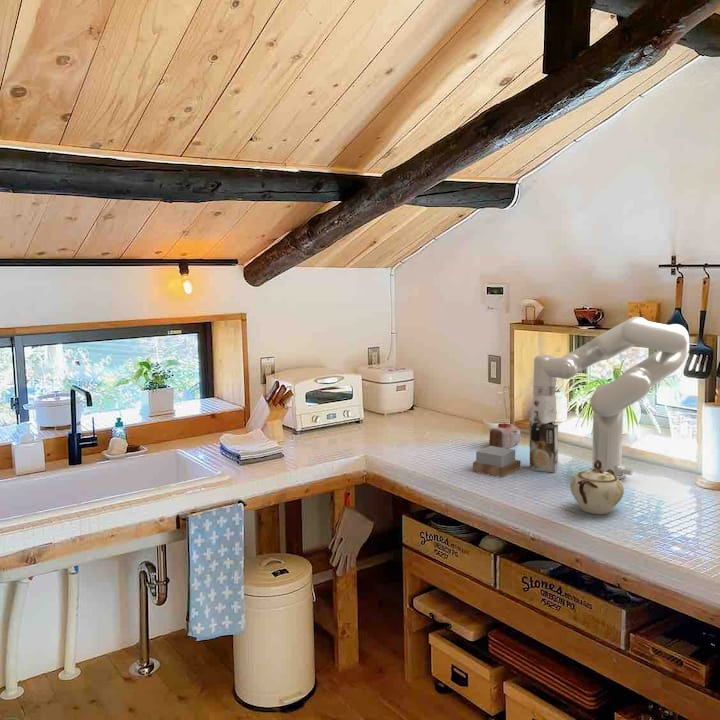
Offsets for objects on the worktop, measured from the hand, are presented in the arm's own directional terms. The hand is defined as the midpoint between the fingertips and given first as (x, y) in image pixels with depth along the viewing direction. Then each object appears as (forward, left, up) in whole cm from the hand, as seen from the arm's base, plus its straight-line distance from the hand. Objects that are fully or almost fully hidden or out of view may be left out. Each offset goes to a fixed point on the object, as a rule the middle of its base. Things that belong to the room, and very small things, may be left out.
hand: (542, 438), depth 252 cm
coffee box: (-1, 0, -12) cm, 12 cm away
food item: (+27, -19, -12) cm, 35 cm away
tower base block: (+11, +12, -12) cm, 20 cm away
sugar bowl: (-34, +28, -12) cm, 45 cm away
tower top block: (+11, +12, -8) cm, 19 cm away
